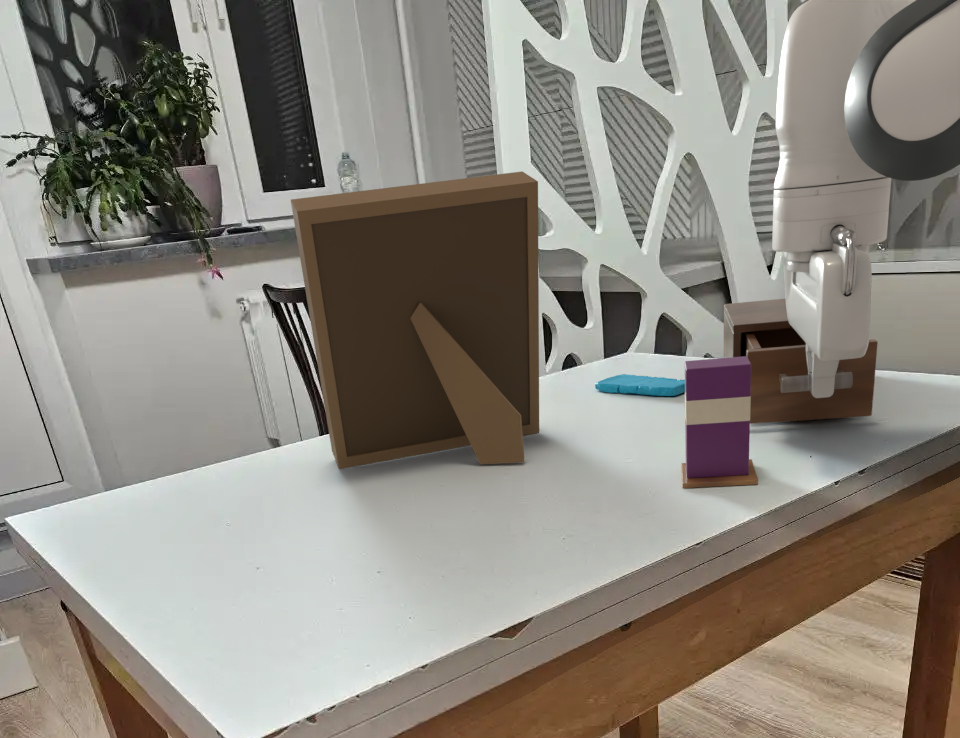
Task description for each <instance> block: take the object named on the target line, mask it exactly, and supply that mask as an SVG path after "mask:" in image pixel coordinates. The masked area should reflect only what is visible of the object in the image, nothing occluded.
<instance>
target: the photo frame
mask: <svg viewBox="0 0 960 738" xmlns="http://www.w3.org/2000/svg"><path fill="white" fill-rule="evenodd" d="M290 204H291V210H292V211H291V212H292V217H293V223H294V229H295V235H296V241H297V248H298V253H299V259H300V260H299V261H300V266H301V271H302V278H303V283H304V284H303V285H304V291H305V296H306V302H307V308H308V314H309V321H310V326H311V332H312V339H313V344H314V350H315V357H316V363H317V368H318V375H319V380H320V386H321V394H322V398H323V407H324V411H325V417H326V424H327V430H328V435H329V443H330V446H331V452H332V455H333V458H334V460H335V463H336V466H337V469H338V470H344V469H348V468H355V467H360V466H366V465H370V464H375V463H382V462H387V461H393V460H399V459H404V458H409V457H414V456H420V455H425V454H432V453H438V452H442V451H443V452H444V451H447V450H454V449H459V448H465V447H471V449H472V450H473V452H474V454H475V456H476V459H477V460H478V463H479V465H494V464H495V465H497V464H515V463H516V464H517V463H525V450H524V437H525V436H531V435H536V434H540V307H539V306H540V298H539V297H540V296H539V295H540V293H539V277H540V275H539V181H538V180H537V179H535V178H533V177H532V176H531V175H529V174H527V173H526V172H524V171H514V172H513V171H512V172H506V173H498V174H491V175H481V176H473V177H465V178H457V179H448V180H440V181H432V182H425V183H424V182H423V183H414V184H408V185H407V184H406V185H399V186H391V187H383V188H374V189H367V190H366V189H365V190H359V191H348V192H342V193H334V194H332V193H331V194H324V195H317V196H316V195H315V196H309V197H300V198H292V199H290Z"/></svg>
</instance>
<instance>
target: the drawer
mask: <svg viewBox="0 0 960 738" xmlns="http://www.w3.org/2000/svg"><path fill="white" fill-rule="evenodd" d="M878 342H879V341H878V340H876V339H874V338H873V339H869V344H868V348H867V351H866V354H865V355H864V356H863V357H861V358H854V359H844V360H839V364H838V367H837V371H836V375H835V382H834V393H833V395H832V396H831V397H826V398H815V397H813V395H812V394H811V392H810V391H809V390H808V387H807V385H808V367H807V358H806V343H805V341H804V340H803V339H802V338H801V337H800V336H799V334H798V333H797V332H796V331H795V330H794V328H788V329H777V330H765V331H753V332H743V334H742V357H743V356H747V358H748V360H749V362H750V364H751V392H750V397H751V406H750V425H752V424H767V423H783V422H784V423H785V422H797V421H798V422H799V421H814V420H830V419H831V420H832V419H844V418H846V419H847V418H862V417H872V415H873V404H874V394H875V393H874V391H875V389H874V388H875V381H876V380H875V379H876V369H877V355H878V345H879V344H878Z"/></svg>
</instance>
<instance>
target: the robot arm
mask: <svg viewBox="0 0 960 738" xmlns="http://www.w3.org/2000/svg"><path fill="white" fill-rule="evenodd" d="M781 46H782V47H781V52H780V60H779V66H778V67H779V68H778V78H777V91H776V106H775V107H776V108H775V134H776V138H777V142H778V147H779V162H778V168H777V171H776V175H775V178H774V182H773V197H772V198H773V200H772V201H773V203H772V204H773V205H772V237H771V239H772V240H771V250H772V251H773V252H777V253H778V252H779V253H780V252H781V253H783V255H782V258H783V259H782V260H783V261H782V262H783V277H784V278H783V283H784V297H785V298H784V299H785V300H786V310H787V317H788V321H789V324H790V325H791V326H792V327H793V328H794V330H795V331H796V332H797V333H798V334H799V336H800V337H801V338H802V339H803V340H804V341H805V343H806V358H807V367H808V385H807V387H808V390H809V391H810V392H811V394H812V395H813V397H815V398H826V397H831V396H832V395H833V393H834V382H835V375H836V371H837V367H838V364H839V360H844V359H854V358H861V357H863V356H864V355H865V354H866V351H867V348H868V344H869V340H870V337H871V336H870V333H871V315H872V285H873V283H872V281H873V279H872V277H873V275H872V274H873V273H872V272H873V271H872V260H871V257H870V254H869V253H870V246H871V245H876V244H880V243H883V242H885V241H886V240H887V238H888V227H889V215H890V201H891V200H890V199H891V190H892V189H891V187H892V180H898V181H903V182H904V181H906V182H913V181H915V182H916V181H923V180H929V179H931V178H935V177H938V176H941V175H943V174H947V173H948V172H950V171H952V170H953V169H955V168H957V167H958V166H960V0H804V1H802V2H801V3H800V4H798V6H797V8H796V9H795V10H794V11H793V12H792V14H791V15H790V18H789V20H788V22H787V25H786V28H785V31H784V35H783V41H782V45H781Z"/></svg>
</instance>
